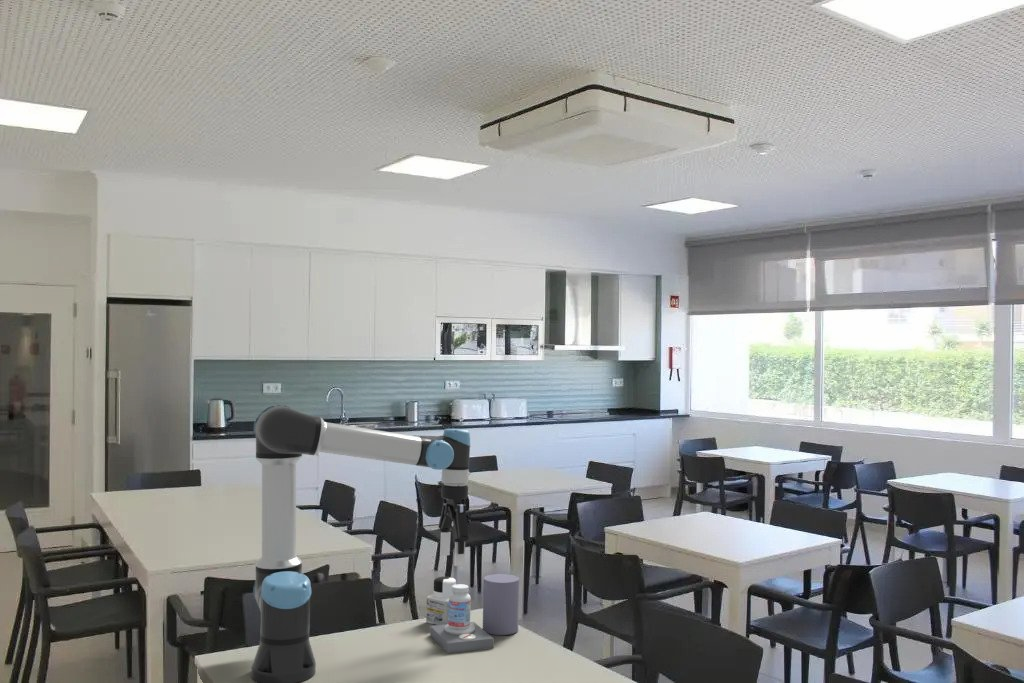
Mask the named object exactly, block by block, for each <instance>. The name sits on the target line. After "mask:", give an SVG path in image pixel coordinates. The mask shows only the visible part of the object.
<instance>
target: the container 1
mask: <svg viewBox="0 0 1024 683" xmlns="http://www.w3.org/2000/svg"><path fill="white" fill-rule="evenodd" d="M456 584H457V580H456V579H455V578H454V577H452V576H438V577H436V578H434V580H433V594H430V595H428V596H426V610H425V611H426V612H425V614H426V616H425V622H426V623H427V624H431V625H434V626H436V625H446V624H448V616H449V597H450V595H451V594H452V593H453V592H452V586H453V585H456Z"/></svg>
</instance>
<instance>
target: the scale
mask: <svg viewBox="0 0 1024 683" xmlns="http://www.w3.org/2000/svg"><path fill="white" fill-rule="evenodd" d="M429 630H430V633H429V635H430V637H431V638H432V639H433V640H434V641H435V642H436V643H437V644H438V645H439V646H440V647H441V648H442V650H444V651H445V652H446V653H447V654H452V653H461V652H471V651H479V650H489V649H494V637H492V635H491V634H488V633H487V632H485V631H484V630H483V627H481V626H480V625H478V624H477V623H476V622H475V621H470V626H469V627H468V628H467V629H462V630H457V629H452V628H450V627H449V626H448V624H446V625H430V628H429Z"/></svg>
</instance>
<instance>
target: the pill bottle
mask: <svg viewBox="0 0 1024 683" xmlns="http://www.w3.org/2000/svg"><path fill="white" fill-rule="evenodd" d="M452 592H453V593H452V594H451V595H450V597H449V616H448V626H449V627H450V628H452V629H457V630H462V629H467V628H468V627H469V626H470V622H471V605H472V604H471V601H472V598H471V595H470V594H469V585H467V584H464V583H463V584H462V583H461V584H460V583H458V584H457V583H456V585H453V586H452Z"/></svg>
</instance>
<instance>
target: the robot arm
mask: <svg viewBox="0 0 1024 683" xmlns="http://www.w3.org/2000/svg"><path fill="white" fill-rule="evenodd" d="M253 433H254V436H255V459H256V461H258V462H259V463H260V465H261V557H260V559H258V560H257V561H256V562H255V581H254V584H253V587H252V588H253V589H252V590H253V597H254V599H255V600H254V601H255V602H256V604H257V606H258V609H259V611H260V626H259V627H260V628H259V629H260V630H259V633H260V634H259V635H260V637H259V646H258V648H257V650H256V654H255V656H254V660H253V662H252V665H251V676H250V677H251V678H252V680H253V681H255V682H258V683H300V682H303V681H306V680H308V679H310V678H312V677H313V676H315V674H316V669H317V668H316V667H317V664H316V663H317V662H316V659H315V656H314V652H313V648H312V645H311V642H310V628H311V627H310V621H311V620H310V619H311V596H312V587H311V580H310V579H309V577H308V576H307V575H305V574H303V564H302V563H303V561H302V559H301V558H300V557H298V556H297V463H298V462H299V461H300V460H301V458H302V457H303V455H309V456H316V455H317V454H319V453H325V454H330V455H331V454H333V455H338V456H339V455H340V456H345V457H354V458H360V459H368V460H375V461H383V462H389V463H397V464H405V465H411V466H418V467H423V468H430V469H433V470H436V471H437V470H441V483H443V484H442V485H441V487H440V488H441V491H440V495H441V496H440V497H441V498H442V507H441V512H440V516H439V521H438V528H439V530H440V540H439V541H440V543H439V544H440V545H439V556H450V555H451V553H450V552H451V533H452V525H453V530H454V535H455V538H454V540H453V542H454V555H453V556H454V558H453V560H454V561H453V567H462V566H465V559H466V558H465V557H466V556H465V555H466V542H467V541H469V539H470V538H469V529H468V520H467V513H466V512H467V505H466V504H463V503H462V500H466V499H467V498H468V496H469V485H468V483H469V476H471V472H470V470H469V469H470V455H471V453H470V452H471V433H470V431H469V430H468V429H464V428H445V429H444V431H443V434H442V435H438V436H437V435H413V434H412V435H410V434H403V433H397V432H390V431H385V430H378V429H373V428H365V427H360V426H359V427H358V426H353V425H345V424H340V423H334V422H327V421H325V420H324V419H323V417H320V416H315V415H310V414H307V413H303V412H300V411H299V410H297V409H294V408H292V407H290V406H287V405H284V404H282V405H281V404H275V405H271V406H268V407H266V408H264V409H263V410H262V411H261V412H260V413H259V414H258V416H257V417H256V419H255V421H254V422H253Z"/></svg>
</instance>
